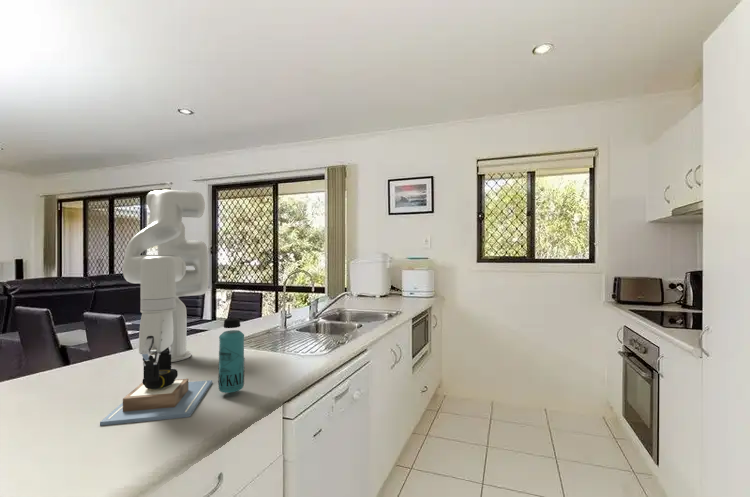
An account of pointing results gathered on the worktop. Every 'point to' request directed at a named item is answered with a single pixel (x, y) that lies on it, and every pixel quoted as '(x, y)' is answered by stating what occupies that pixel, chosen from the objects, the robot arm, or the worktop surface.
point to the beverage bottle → (231, 358)
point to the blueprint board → (161, 412)
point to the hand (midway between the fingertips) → (158, 374)
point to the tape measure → (162, 379)
